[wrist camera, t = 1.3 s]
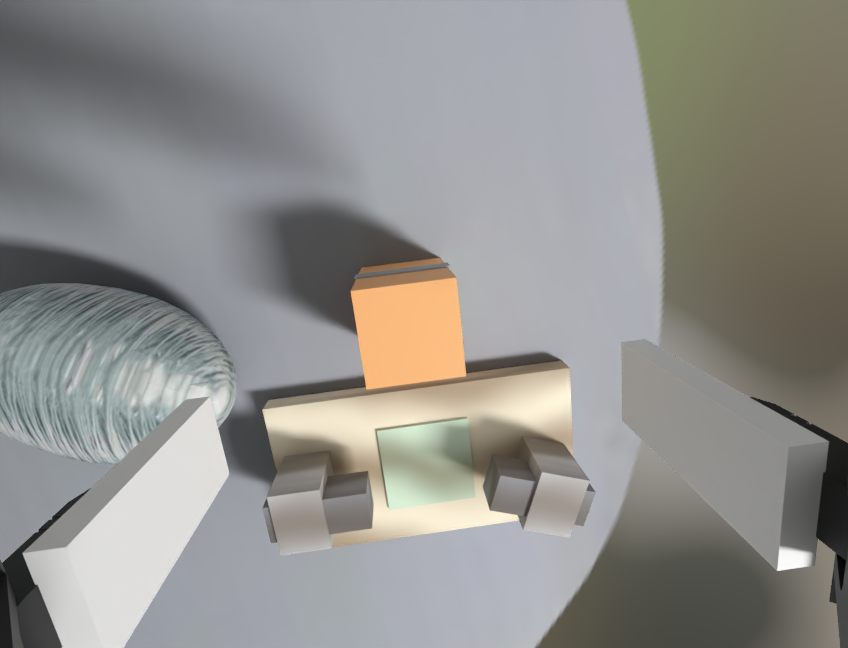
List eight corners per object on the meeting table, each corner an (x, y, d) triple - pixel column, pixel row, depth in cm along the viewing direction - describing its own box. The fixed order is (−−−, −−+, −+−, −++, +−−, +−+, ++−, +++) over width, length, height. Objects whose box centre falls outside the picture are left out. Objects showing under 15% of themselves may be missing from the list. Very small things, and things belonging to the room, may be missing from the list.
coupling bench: (268, 400, 32) (240, 444, 26) (561, 360, 32) (597, 395, 26) (299, 537, 34) (280, 605, 29) (567, 499, 35) (601, 557, 29)
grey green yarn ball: (-43, 421, 27) (-156, 440, 18) (29, 270, 29) (-40, 222, 21) (204, 468, 33) (210, 499, 24) (249, 337, 35) (270, 321, 26)
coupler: (359, 266, 30) (348, 289, 22) (441, 255, 30) (458, 275, 22) (371, 344, 31) (364, 391, 23) (449, 333, 31) (468, 377, 24)
